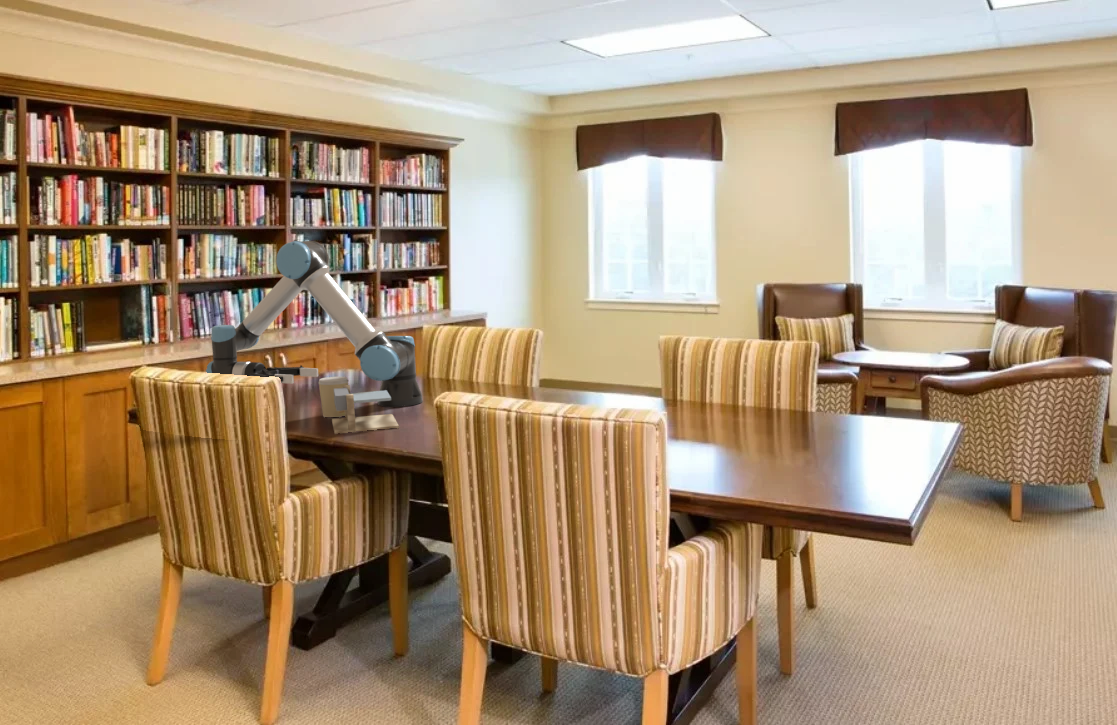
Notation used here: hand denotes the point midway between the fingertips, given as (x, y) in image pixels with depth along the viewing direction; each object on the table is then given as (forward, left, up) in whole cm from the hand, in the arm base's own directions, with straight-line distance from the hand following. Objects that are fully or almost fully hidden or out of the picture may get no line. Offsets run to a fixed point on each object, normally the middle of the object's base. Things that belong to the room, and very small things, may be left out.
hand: (305, 375), depth 294 cm
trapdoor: (-16, +25, -6) cm, 30 cm away
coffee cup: (-8, +6, -13) cm, 16 cm away
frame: (-16, +25, -13) cm, 32 cm away
